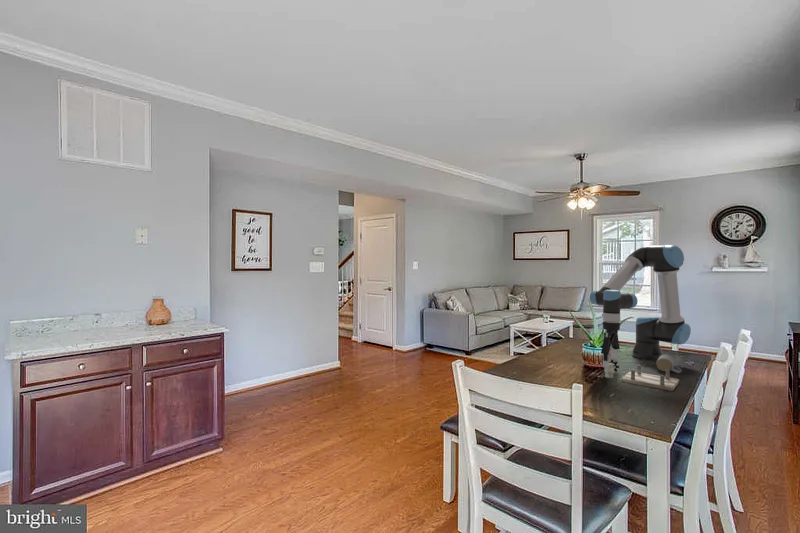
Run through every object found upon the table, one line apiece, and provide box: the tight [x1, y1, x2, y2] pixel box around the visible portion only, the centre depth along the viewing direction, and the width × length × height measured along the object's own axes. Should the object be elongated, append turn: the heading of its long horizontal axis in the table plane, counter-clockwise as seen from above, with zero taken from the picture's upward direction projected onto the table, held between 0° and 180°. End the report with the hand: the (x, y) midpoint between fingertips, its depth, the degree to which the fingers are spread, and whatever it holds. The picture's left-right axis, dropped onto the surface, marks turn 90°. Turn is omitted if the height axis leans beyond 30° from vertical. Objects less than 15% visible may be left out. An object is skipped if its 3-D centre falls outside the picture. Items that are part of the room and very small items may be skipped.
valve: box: [603, 359, 620, 379], centre depth 201 cm, size 7×7×12 cm
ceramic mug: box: [655, 354, 683, 374], centre depth 208 cm, size 11×8×8 cm
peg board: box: [621, 364, 680, 392], centre depth 190 cm, size 16×20×6 cm
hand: (610, 364), depth 202 cm, fingers open, 13 cm apart
